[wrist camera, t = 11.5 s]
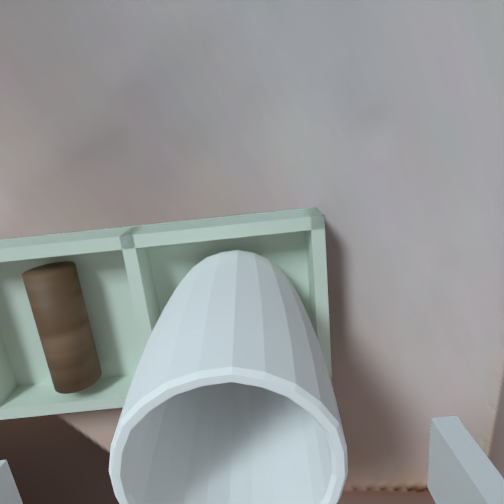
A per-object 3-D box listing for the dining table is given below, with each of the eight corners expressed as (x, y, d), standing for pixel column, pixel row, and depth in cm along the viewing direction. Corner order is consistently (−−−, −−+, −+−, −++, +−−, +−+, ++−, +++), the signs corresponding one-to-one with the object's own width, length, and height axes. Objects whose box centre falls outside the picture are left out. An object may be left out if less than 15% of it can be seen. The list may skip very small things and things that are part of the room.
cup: (173, 238, 24) (85, 357, 11) (301, 242, 25) (375, 363, 11) (176, 353, 27) (106, 571, 13) (293, 355, 27) (344, 572, 13)
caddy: (-34, 243, 25) (-71, 256, 22) (314, 206, 24) (324, 215, 22) (14, 392, 28) (-12, 421, 25) (323, 361, 28) (332, 386, 25)
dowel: (35, 264, 24) (12, 280, 22) (81, 259, 25) (64, 273, 22) (64, 370, 27) (46, 396, 24) (106, 364, 27) (94, 389, 24)
